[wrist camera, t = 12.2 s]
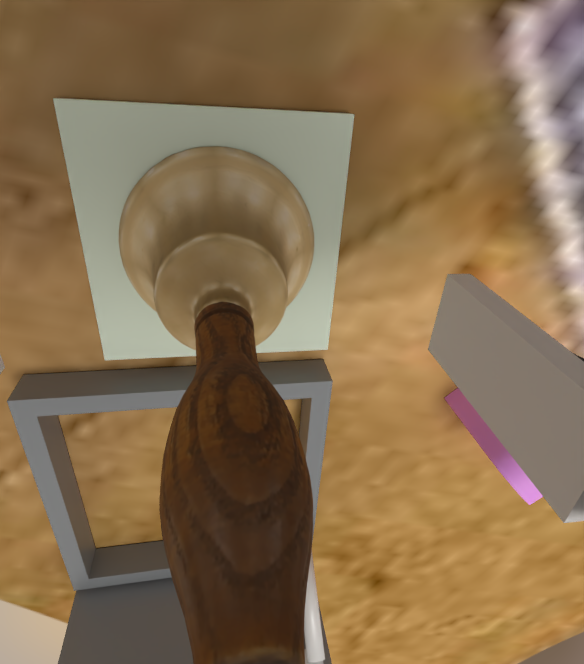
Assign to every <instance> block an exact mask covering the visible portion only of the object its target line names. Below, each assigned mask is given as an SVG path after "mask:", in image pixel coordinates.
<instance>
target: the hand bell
mask: <svg viewBox="0 0 584 664" xmlns="http://www.w3.org/2000/svg"><path fill="white" fill-rule="evenodd" d="M119 248H120V255H121V259H122V263H123V267H124V269H125V271H126V274H127V276H128V278H129V280H130V282H131V284H132V285H133V287H134V288H135V290H136V291H137V293H138V294H139V295H140V297H141V298H142V299H143V300H144V301H145V302H146V303H147V304H148V305H149V306H150V307H151V308H152V309H153V310H155V311H156V312H157V314H158V316H159V318H160V320H161V322H162V323H163V325H164V326H165V328H166V329H167V330H168V332H169V333H170V334H171V335H172V336H173V337H174V338H175V339H177V340H178V341H179V342H181V343H182V344H184V345H185V346H187V347H189V348H191V349H193V350H196V363H197V367H196V373H195V376H194V378H193V380H192V382H191V383H190V385H189V387H188V388H187V390H186V391H185V393H184V394H183V396H182V398H181V400H180V403H179V405H178V407H177V409H176V412H175V415H174V418H173V421H172V424H171V427H170V431H169V435H168V439H167V443H166V447H165V451H164V456H163V465H162V474H161V486H160V519H161V529H162V536H163V542H164V547H165V552H166V557H167V561H168V565H169V569H170V572H171V576H172V580H173V583H174V586H175V590H176V593H177V596H178V599H179V602H180V605H181V608H182V612H183V615H184V618H185V623H186V627H187V632H188V636H189V641H190V646H191V650H192V656H193V664H305V652H304V617H305V602H306V591H307V581H308V573H309V566H310V558H311V549H312V538H313V495H312V487H311V480H310V475H309V470H308V466H307V462H306V458H305V454H304V450H303V447H302V444H301V441H300V437H299V434H298V431H297V429H296V426H295V424H294V421H293V419H292V416H291V414H290V412H289V410H288V408H287V406H286V404H285V402H284V400H283V399H282V397H281V396H280V395H279V393H278V392H277V390H276V389H275V387H274V386H273V385H272V384H271V383H270V381H269V380H268V379H267V378H266V377H265V375H264V374H263V373H262V372H261V370H260V368H259V364H258V361H257V354H256V346H257V345H259V344H260V343H262V342H263V341H265V340H266V339H267V338H268V337H269V336H270V335H271V334H272V333H273V332H274V331H275V329H276V328H277V327H278V325H279V324H280V322H281V320H282V318H283V316H284V313H285V310H286V307H287V306H288V305H289V304H290V303H291V302H292V301H293V300H294V299H295V297H296V296H297V295H298V293H299V292H300V290H301V288H302V287H303V285H304V283H305V281H306V279H307V277H308V274H309V271H310V268H311V265H312V260H313V255H314V230H313V225H312V221H311V217H310V213H309V211H308V208H307V206H306V204H305V202H304V200H303V198H302V196H301V194H300V193H299V191H298V190H297V188H296V187H295V186H294V185H293V183H292V182H291V181H290V180H289V179H288V178H287V177H286V176H285V175H284V174H283V173H282V172H281V171H280V170H279V169H277V168H276V167H275V166H274V165H272V164H271V163H269V162H267V161H266V160H264V159H262V158H260V157H258V156H257V155H254V154H251V153H249V152H246V151H243V150H239V149H235V148H230V147H220V146H211V147H196V148H192V149H187V150H185V151H182V152H178V153H176V154H172V155H170V156H169V157H166V158H165V159H163V160H162V161H161V162H159V163H158V164H156V165H155V166H153V167H152V168H151V169H150V170H149V171H148V172H147V173H146V174H145V175H144V176H143V177H142V178H141V179H140V180H139V181H138V182H137V184H136V185H135V186H134V188H133V189H132V191H131V192H130V194H129V196H128V198H127V200H126V202H125V205H124V208H123V211H122V214H121V219H120V224H119Z"/></svg>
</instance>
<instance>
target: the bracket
mask: <svg viewBox="0 0 584 664" xmlns="http://www.w3.org/2000/svg"><path fill="white" fill-rule="evenodd" d="M444 399H445V400H446V401H447V403H448V404H449V405H450V407H451V408H452V409H453V411H454V412H455V413H456V415H457V416H458V417H459V419H460V420H461V421H462V423H463V424H464V425H465V427H466V428H467V429H468V431H469V432H470V433H471V435H472V436H473V437H474V439H475V440H476V441H477V443H478V444H479V445H480V447H481V448H482V449H483V451H484V452H485V453H486V455H487V456H488V457H489V459H490V460H491V461H492V462H493V464H494V465H495V466H496V468H497V469H498V470H499V471H500V473H501V474H502V475H503V476H504V477H505V479H506V480H507V481H508V482H509V483H510V485H511V486H512V487H513V488H514V489H515V490H516V492H517V493H518V494H519V495H520V496H521V497H522V498H523V499H524V500H525V501H526V502H527V503H528V504H529V505H531V504H532V503H534V502H535V501H537V500H538V499H540V498H542V497H543V496H542V494H541V493H540V492H539V491H538V489H537V488H536V487H535V485H534V484H533V483H532V482H531V480H530V479H529V478H528V476H527V475H526V474H525V473H524V471H523V470H522V469H521V468H520V466H519V465H518V464H517V462H516V461H515V460H514V459H513V457H512V456H511V455H510V453H509V452H508V451H507V450H506V448H505V447H504V446H503V445H502V443H501V442H500V441H499V439H498V438H497V437H496V436H495V434H494V433H493V432H492V430H491V429H490V428H489V427H488V425H487V424H486V423H485V422H484V420H483V419H482V418H481V416H480V415H479V414H478V413H477V411H476V410H475V409H474V407H473V406H472V405H471V404H470V402H469V401H468V400H467V399H466V397H465V396H464V395H463V393H462V392H461V391H460V390H459V388H457V389H455V390H454V391H453V392H451V393H450V394H449V395H447V396H446V397H445V398H444Z"/></svg>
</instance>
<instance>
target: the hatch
mask: <svg viewBox="0 0 584 664" xmlns="http://www.w3.org/2000/svg"><path fill="white" fill-rule="evenodd" d="M258 364H259V368H260V370H261V372H262V373H263V374H264V375H265V377H266V378H267V379H268V380H269V381H270V383H271V384H272V385H273V386H274V387H275V389H276V390H277V392H278V393H279V395H280V396H281V397H282V399H283V400H288V399H302V407H301V419H300V431H299V437H300V441H301V444H302V447H303V450H304V454H305V458H306V462H307V466H308V470H309V475H310V480H311V487H312V495H313V533H314V525H315V517H316V509H317V501H318V493H319V485H320V477H321V469H322V461H323V453H324V445H325V437H326V429H327V421H328V413H329V405H330V397H331V389H332V379H331V376H330V374H329V371H328V369H327V367H326V364H325V362H324V360H323V359H317V360H298V361H279V362H260V363H258ZM196 367H197V366H182V367H163V368H144V369H125V370H105V371H86V372H67V373H48V374H28V375H23V376H22V378H21V379H20V381H19V382H18V384H17V386H16V387H15V389H14V390H13V392H12V394H11V395H10V397H9V398H8V400H7V403H8V405H9V408H10V411H11V414H12V417H13V419H14V422H15V425H16V428H17V431H18V434H19V436H20V439H21V442H22V445H23V448H24V450H25V453H26V456H27V459H28V462H29V465H30V467H31V470H32V473H33V476H34V479H35V481H36V484H37V487H38V490H39V493H40V496H41V498H42V501H43V504H44V507H45V510H46V512H47V515H48V518H49V521H50V524H51V526H52V529H53V532H54V535H55V538H56V541H57V543H58V546H59V549H60V552H61V555H62V557H63V560H64V563H65V566H66V569H67V572H68V574H69V577H70V580H71V583H72V586H73V588H74V591H76V590H77V591H76V595H75V599H74V602H73V606H72V610H71V614H70V618H69V622H68V626H67V630H66V634H65V638H64V642H63V646H62V650H61V654H60V658H59V661H58V664H193V656H192V650H191V646H190V641H189V636H188V632H187V627H186V623H185V618H184V615H183V612H182V608H181V605H180V602H179V599H178V596H177V593H176V590H175V586H174V583H173V580H172V576H171V572H170V569H169V565H168V561H167V557H166V552H165V547H164V542H163V541H156V542H148V543H139V544H131V545H123V546H114V547H106V548H98V549H96V548H95V544H94V541H93V537H92V534H91V530H90V527H89V524H88V520H87V517H86V513H85V510H84V506H83V503H82V499H81V496H80V492H79V489H78V485H77V482H76V478H75V475H74V471H73V468H72V464H71V461H70V457H69V454H68V450H67V447H66V443H65V440H64V436H63V433H62V429H61V426H60V422H59V419H58V415H67V414H82V413H96V412H111V411H126V410H141V409H155V408H170V407H178V405H179V403H180V400H181V398H182V396H183V394H184V393H185V391H186V390H187V388H188V387H189V385H190V383H191V382H192V380H193V378H194V376H195V373H196ZM312 540H313V538H312ZM304 652H305V664H332V663H331V658H330V654H329V649H328V644H327V640H326V635H325V630H324V626H323V621H322V617H321V612H320V607H319V603H318V597H317V589H316V581H315V573H314V565H313V556H312V549H311V558H310V566H309V573H308V581H307V591H306V602H305V617H304Z"/></svg>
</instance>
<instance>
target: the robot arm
mask: <svg viewBox="0 0 584 664" xmlns="http://www.w3.org/2000/svg"><path fill="white" fill-rule="evenodd" d="M428 350H429V351H430V353H431V354H432V355H433V356H434V358H435V359H436V360H437V361H438V363H439V364H440V365H441V367H442V368H443V369H444V370H445V372H446V373H447V374H448V376H449V377H450V378H451V379H452V381H453V382H454V383H455V384H456V386H457V387H458V388H459V390H460V391H461V392H462V393H463V395H464V396H465V397H466V399H467V400H468V401H469V402H470V404H471V405H472V406H473V407H474V409H475V410H476V411H477V413H478V414H479V415H480V416H481V418H482V419H483V420H484V422H485V423H486V424H487V425H488V427H489V428H490V429H491V430H492V432H493V433H494V434H495V436H496V437H497V438H498V439H499V441H500V442H501V443H502V445H503V446H504V447H505V448H506V450H507V451H508V452H509V453H510V455H511V456H512V457H513V459H514V460H515V461H516V462H517V464H518V465H519V466H520V468H521V469H522V470H523V471H524V473H525V474H526V475H527V476H528V478H529V479H530V480H531V482H532V483H533V484H534V485H535V487H536V488H537V489H538V491H539V492H540V493H541V494H542V496H543V497H544V498H545V499H546V501H547V502H548V503H549V505H550V506H551V507H552V508H553V510H554V511H555V512H556V514H557V515H558V516H559V517H560V519H561V520H562V521H563V522H564V523H569V522H577V521H584V359H583V358H581V357H579V356H577V355H576V354H574V353H572V352H571V351H569V350H568V349H567V348H565V347H564V346H563V345H562V344H560V343H559V342H558V341H556V340H555V339H554V338H553V337H551V336H550V335H549V334H547V333H546V332H545V331H544V330H542V329H541V328H540V327H538V326H537V325H536V324H534V323H533V322H532V321H531V320H529V319H528V318H527V317H525V316H524V315H523V314H522V313H520V312H519V311H518V310H516V309H515V308H514V307H513V306H511V305H510V304H509V303H507V302H506V301H505V300H504V299H502V298H501V297H500V296H498V295H497V294H496V293H495V292H493V291H492V290H491V289H489V288H488V287H487V286H485V285H484V284H483V283H482V282H480V281H479V280H478V279H476V278H475V277H474V276H473V275H471V274H448V275H447V279H446V282H445V286H444V290H443V294H442V298H441V302H440V305H439V309H438V313H437V317H436V321H435V324H434V328H433V332H432V336H431V340H430V344H429V347H428ZM4 368H5V366H4V363H3V360H2V358H1V355H0V374H1V372H2V371H3V369H4Z"/></svg>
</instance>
